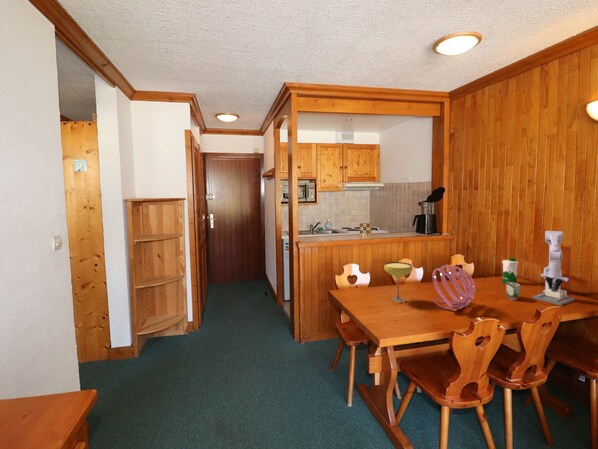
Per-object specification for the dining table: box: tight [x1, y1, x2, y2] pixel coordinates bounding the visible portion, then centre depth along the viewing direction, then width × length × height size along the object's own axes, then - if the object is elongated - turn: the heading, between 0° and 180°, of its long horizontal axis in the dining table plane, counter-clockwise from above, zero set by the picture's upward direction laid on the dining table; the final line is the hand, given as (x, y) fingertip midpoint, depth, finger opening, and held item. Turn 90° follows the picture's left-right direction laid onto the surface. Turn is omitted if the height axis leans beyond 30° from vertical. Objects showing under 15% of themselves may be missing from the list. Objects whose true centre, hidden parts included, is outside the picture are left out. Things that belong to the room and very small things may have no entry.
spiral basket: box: [431, 264, 476, 311], centre depth 198 cm, size 28×28×27 cm
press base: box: [532, 289, 576, 306], centre depth 207 cm, size 18×16×6 cm
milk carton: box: [501, 257, 519, 284], centre depth 245 cm, size 9×9×20 cm
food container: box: [505, 282, 521, 302], centre depth 211 cm, size 12×6×10 cm, turn 168°
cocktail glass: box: [383, 261, 413, 301], centre depth 211 cm, size 18×18×25 cm
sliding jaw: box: [544, 283, 563, 299], centre depth 207 cm, size 4×8×9 cm, turn 27°
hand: (553, 289), depth 207 cm, fingers closed on sliding jaw, 3 cm apart
